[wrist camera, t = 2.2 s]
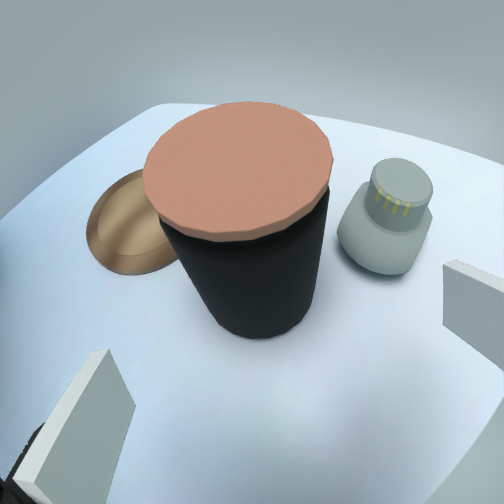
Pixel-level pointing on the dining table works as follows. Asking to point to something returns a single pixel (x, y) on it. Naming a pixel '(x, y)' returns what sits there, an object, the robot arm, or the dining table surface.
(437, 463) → the dining table surface
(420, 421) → the dining table surface
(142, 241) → the trivet
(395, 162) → the air freshener
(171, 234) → the coffee jar
